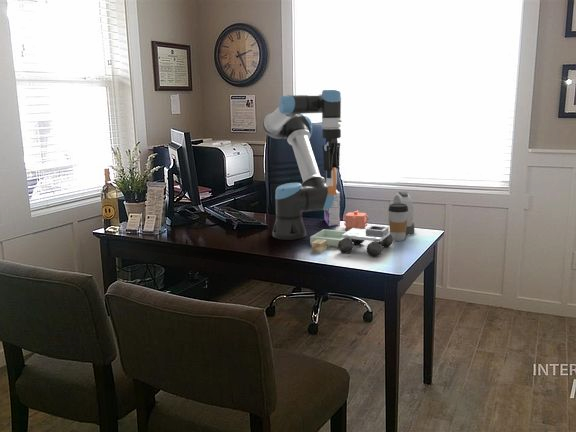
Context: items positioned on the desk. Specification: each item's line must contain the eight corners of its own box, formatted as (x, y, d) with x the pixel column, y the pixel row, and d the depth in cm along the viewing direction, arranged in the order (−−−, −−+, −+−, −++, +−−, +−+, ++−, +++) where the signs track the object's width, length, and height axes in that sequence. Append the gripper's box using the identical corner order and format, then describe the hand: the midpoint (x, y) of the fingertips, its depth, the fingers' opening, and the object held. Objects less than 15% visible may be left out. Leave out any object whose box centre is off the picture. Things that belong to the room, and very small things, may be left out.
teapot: (340, 232, 250) (340, 214, 249) (345, 224, 265) (345, 207, 263) (366, 233, 248) (366, 215, 246) (370, 225, 262) (370, 208, 260)
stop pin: (326, 194, 229) (325, 168, 226) (329, 193, 232) (329, 167, 229) (334, 195, 227) (334, 168, 225) (337, 193, 230) (337, 167, 228)
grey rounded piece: (418, 235, 243) (419, 194, 238) (395, 236, 242) (396, 195, 238) (408, 226, 258) (409, 188, 254) (386, 227, 258) (387, 189, 253)
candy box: (323, 219, 275) (323, 187, 272) (335, 219, 276) (335, 187, 272) (328, 226, 262) (327, 192, 258) (340, 225, 262) (340, 192, 259)
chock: (311, 252, 221) (311, 242, 220) (318, 248, 226) (317, 239, 226) (321, 253, 219) (320, 243, 219) (326, 249, 225) (326, 240, 224)
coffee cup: (407, 241, 232) (408, 207, 229) (387, 241, 234) (388, 206, 231) (407, 236, 240) (408, 203, 237) (388, 236, 242) (388, 203, 239)
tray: (310, 244, 231) (310, 236, 230) (323, 236, 243) (323, 229, 243) (341, 248, 225) (341, 240, 224) (353, 240, 237) (353, 232, 236)
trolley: (338, 252, 219) (337, 230, 217) (352, 242, 233) (352, 222, 231) (380, 257, 211) (381, 235, 209) (393, 247, 225) (393, 225, 223)
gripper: (332, 129, 214) (332, 188, 220) (347, 127, 229) (347, 182, 234) (314, 129, 218) (315, 187, 223) (331, 126, 232) (331, 181, 237)
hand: (331, 184), depth 229 cm, fingers closed on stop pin, 3 cm apart
